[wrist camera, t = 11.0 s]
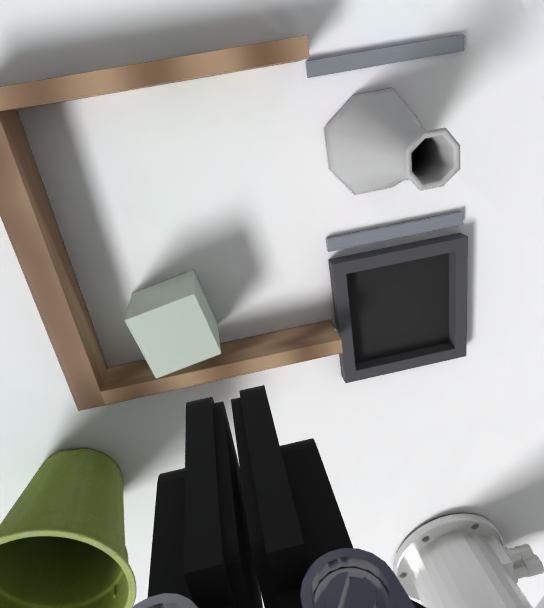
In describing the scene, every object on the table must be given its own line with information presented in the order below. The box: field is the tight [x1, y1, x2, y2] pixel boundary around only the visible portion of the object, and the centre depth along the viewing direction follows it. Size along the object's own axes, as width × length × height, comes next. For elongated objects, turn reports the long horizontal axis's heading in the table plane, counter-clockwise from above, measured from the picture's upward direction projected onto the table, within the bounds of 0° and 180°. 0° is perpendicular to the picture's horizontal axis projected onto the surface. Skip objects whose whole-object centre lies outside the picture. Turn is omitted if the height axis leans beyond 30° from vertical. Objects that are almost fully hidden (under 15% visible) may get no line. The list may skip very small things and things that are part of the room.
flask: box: [324, 88, 460, 195], centre depth 31 cm, size 7×7×10 cm
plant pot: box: [0, 448, 136, 608], centre depth 38 cm, size 12×12×11 cm
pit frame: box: [328, 233, 468, 383], centre depth 40 cm, size 11×11×1 cm
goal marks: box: [306, 34, 464, 252], centre depth 35 cm, size 11×13×1 cm
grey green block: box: [124, 270, 221, 378], centre depth 36 cm, size 5×5×5 cm
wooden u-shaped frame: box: [0, 35, 343, 411], centre depth 34 cm, size 20×22×4 cm
